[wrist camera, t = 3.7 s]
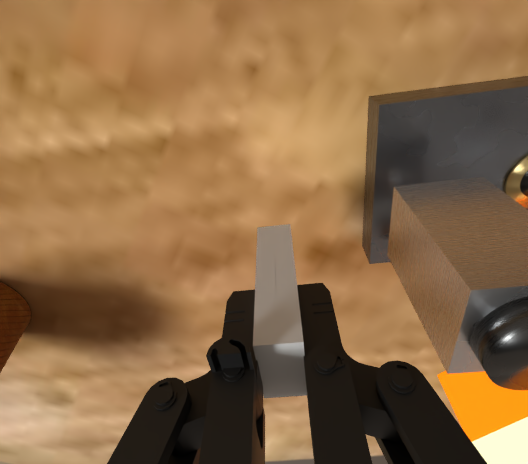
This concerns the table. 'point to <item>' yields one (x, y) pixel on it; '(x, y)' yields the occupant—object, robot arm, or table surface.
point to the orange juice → (490, 416)
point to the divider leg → (466, 273)
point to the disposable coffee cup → (11, 321)
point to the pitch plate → (443, 145)
